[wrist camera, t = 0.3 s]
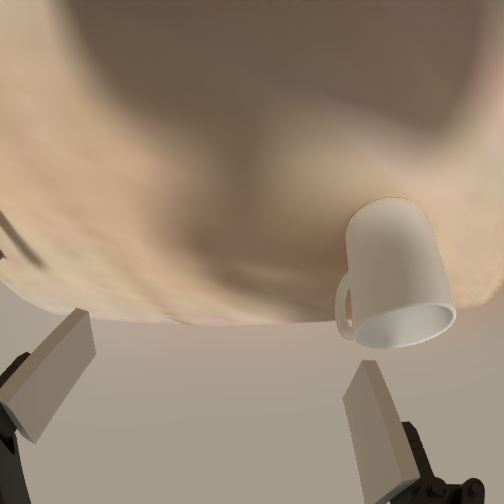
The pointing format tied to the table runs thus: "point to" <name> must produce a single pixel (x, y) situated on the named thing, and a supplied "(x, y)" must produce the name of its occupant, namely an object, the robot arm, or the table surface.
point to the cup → (393, 278)
